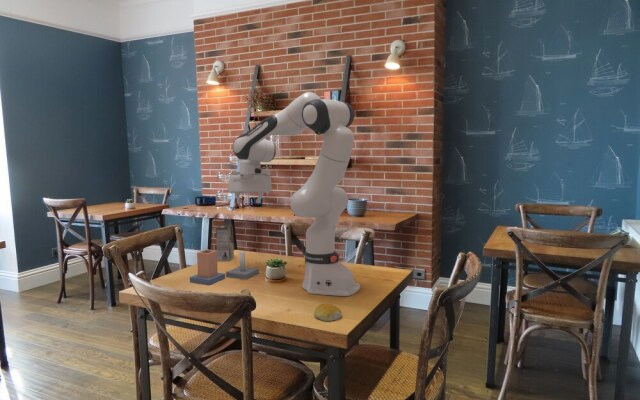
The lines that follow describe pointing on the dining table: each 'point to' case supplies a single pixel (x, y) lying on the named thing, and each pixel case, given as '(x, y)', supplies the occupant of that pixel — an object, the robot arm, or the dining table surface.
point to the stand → (242, 269)
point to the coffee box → (224, 242)
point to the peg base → (207, 279)
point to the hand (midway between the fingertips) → (248, 203)
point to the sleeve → (207, 263)
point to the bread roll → (327, 312)
